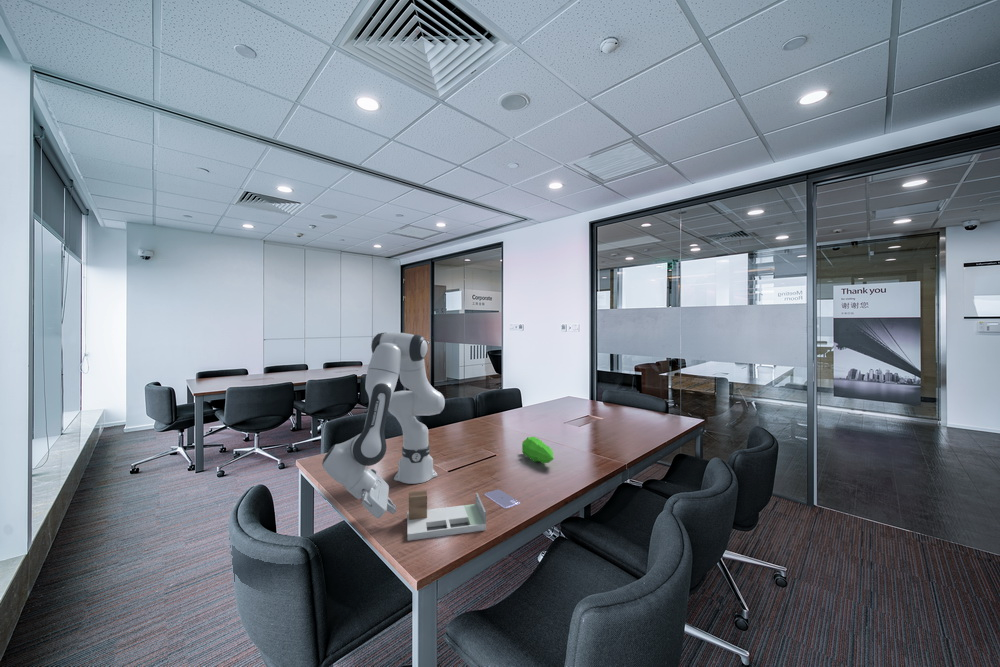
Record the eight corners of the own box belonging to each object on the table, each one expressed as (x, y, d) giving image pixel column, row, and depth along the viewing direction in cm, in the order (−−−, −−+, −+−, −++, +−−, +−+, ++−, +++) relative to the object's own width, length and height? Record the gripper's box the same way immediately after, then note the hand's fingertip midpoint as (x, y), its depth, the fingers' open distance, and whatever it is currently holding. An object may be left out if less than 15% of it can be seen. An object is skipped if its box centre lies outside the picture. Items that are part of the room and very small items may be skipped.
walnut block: (408, 513, 129) (408, 491, 129) (426, 511, 130) (426, 489, 130) (408, 520, 124) (408, 497, 124) (427, 517, 126) (427, 495, 126)
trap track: (407, 517, 130) (407, 500, 130) (477, 509, 136) (477, 492, 136) (407, 540, 115) (407, 521, 115) (486, 530, 121) (485, 511, 121)
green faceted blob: (530, 429, 202) (558, 442, 174) (538, 448, 203) (567, 464, 175) (513, 439, 198) (538, 454, 170) (520, 458, 199) (547, 476, 171)
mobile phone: (499, 488, 153) (521, 501, 140) (499, 490, 153) (521, 504, 140) (483, 492, 149) (504, 507, 136) (483, 495, 149) (504, 509, 136)
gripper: (368, 489, 113) (401, 517, 116) (373, 466, 133) (401, 491, 136) (352, 506, 112) (386, 534, 115) (360, 480, 132) (389, 504, 134)
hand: (394, 510), depth 125 cm, fingers closed
